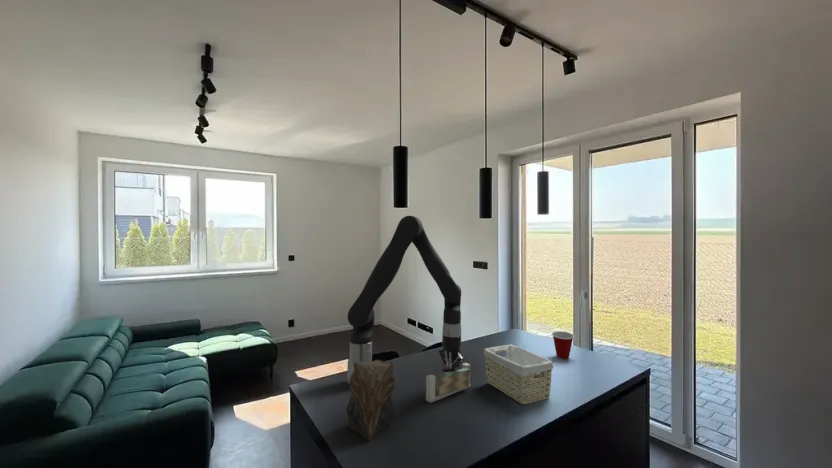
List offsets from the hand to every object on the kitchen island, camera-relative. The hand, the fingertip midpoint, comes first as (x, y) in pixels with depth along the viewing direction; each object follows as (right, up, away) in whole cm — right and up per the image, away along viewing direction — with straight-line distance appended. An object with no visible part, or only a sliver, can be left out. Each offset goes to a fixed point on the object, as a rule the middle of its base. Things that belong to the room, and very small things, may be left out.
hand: (451, 376), depth 137 cm
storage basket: (+26, -6, 0) cm, 27 cm away
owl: (-29, -5, -29) cm, 41 cm away
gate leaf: (0, -4, -4) cm, 6 cm away
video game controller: (+3, -6, +25) cm, 26 cm away
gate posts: (-1, -5, -3) cm, 6 cm away
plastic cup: (+62, -7, +40) cm, 74 cm away
